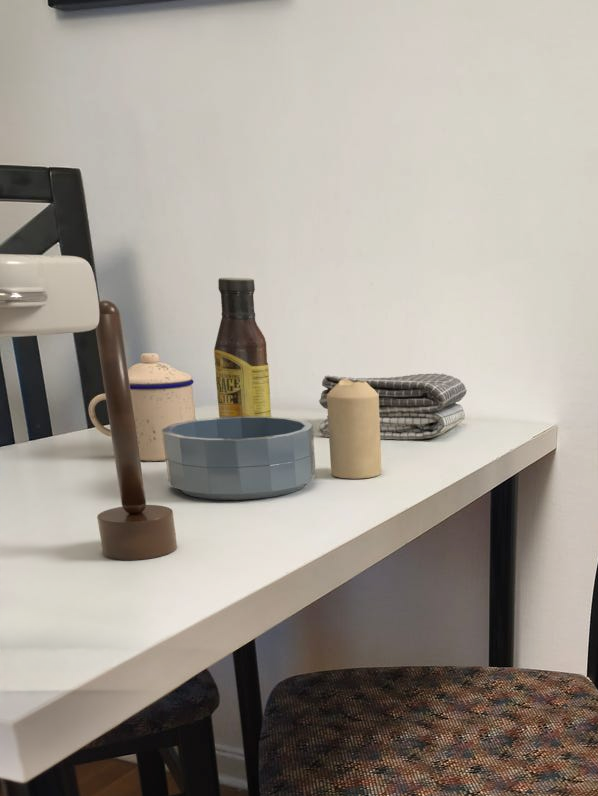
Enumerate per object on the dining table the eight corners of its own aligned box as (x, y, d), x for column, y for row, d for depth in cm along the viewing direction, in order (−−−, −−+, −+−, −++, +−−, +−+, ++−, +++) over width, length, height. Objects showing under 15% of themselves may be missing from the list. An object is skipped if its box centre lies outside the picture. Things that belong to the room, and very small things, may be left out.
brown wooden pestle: (91, 560, 69) (48, 301, 61) (118, 539, 74) (81, 298, 67) (164, 560, 69) (130, 302, 62) (185, 540, 74) (156, 299, 67)
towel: (446, 442, 117) (446, 380, 114) (313, 437, 120) (309, 376, 117) (467, 424, 131) (467, 368, 128) (347, 420, 133) (345, 365, 130)
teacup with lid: (200, 446, 113) (189, 349, 108) (202, 459, 105) (191, 356, 100) (98, 450, 109) (83, 351, 105) (93, 465, 101) (76, 358, 97)
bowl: (150, 502, 86) (142, 439, 83) (193, 470, 99) (187, 415, 97) (302, 502, 86) (298, 440, 84) (324, 471, 99) (321, 416, 97)
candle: (321, 473, 98) (315, 380, 94) (361, 466, 102) (357, 376, 98) (351, 481, 95) (346, 384, 91) (391, 474, 98) (388, 380, 94)
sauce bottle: (213, 448, 111) (195, 277, 104) (258, 443, 115) (244, 277, 107) (238, 456, 107) (221, 278, 99) (284, 450, 111) (271, 278, 103)
